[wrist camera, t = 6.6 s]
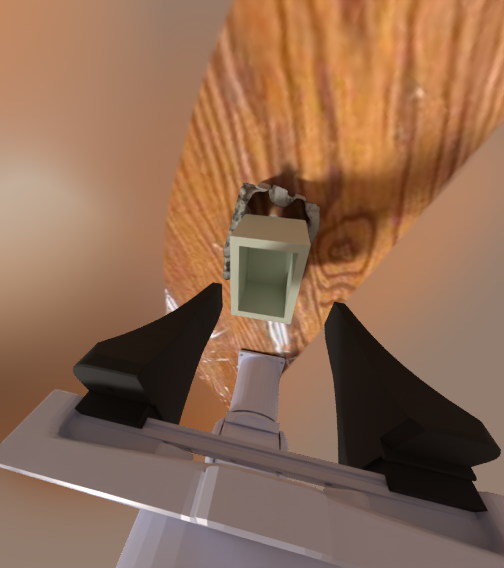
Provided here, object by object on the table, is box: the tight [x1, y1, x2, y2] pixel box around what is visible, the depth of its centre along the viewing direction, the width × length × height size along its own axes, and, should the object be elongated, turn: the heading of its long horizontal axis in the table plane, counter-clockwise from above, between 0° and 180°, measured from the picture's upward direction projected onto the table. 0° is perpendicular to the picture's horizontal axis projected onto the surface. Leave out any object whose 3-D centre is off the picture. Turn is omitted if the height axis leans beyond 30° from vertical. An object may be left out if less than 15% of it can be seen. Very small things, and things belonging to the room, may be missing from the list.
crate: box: [230, 214, 311, 324], centre depth 16 cm, size 7×5×5 cm
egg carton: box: [223, 182, 320, 280], centre depth 19 cm, size 11×8×4 cm
